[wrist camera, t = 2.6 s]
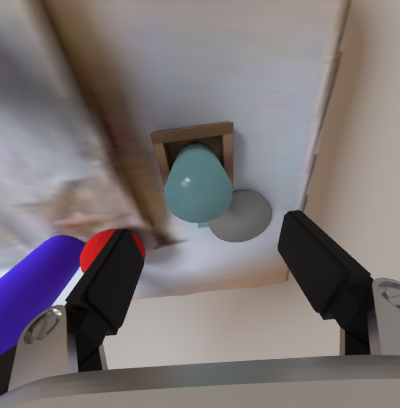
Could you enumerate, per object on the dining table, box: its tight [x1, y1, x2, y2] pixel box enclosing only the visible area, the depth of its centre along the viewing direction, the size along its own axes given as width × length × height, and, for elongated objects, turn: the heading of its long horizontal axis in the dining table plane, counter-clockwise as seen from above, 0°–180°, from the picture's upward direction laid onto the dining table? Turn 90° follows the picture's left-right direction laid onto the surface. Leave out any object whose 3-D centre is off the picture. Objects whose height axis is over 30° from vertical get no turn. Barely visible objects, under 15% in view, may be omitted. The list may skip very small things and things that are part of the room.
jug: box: [164, 141, 233, 228], centre depth 19 cm, size 10×6×11 cm, turn 7°
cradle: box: [150, 121, 233, 188], centre depth 22 cm, size 10×10×4 cm
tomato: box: [80, 229, 145, 273], centre depth 27 cm, size 10×10×10 cm
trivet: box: [209, 190, 272, 242], centre depth 29 cm, size 12×12×1 cm
